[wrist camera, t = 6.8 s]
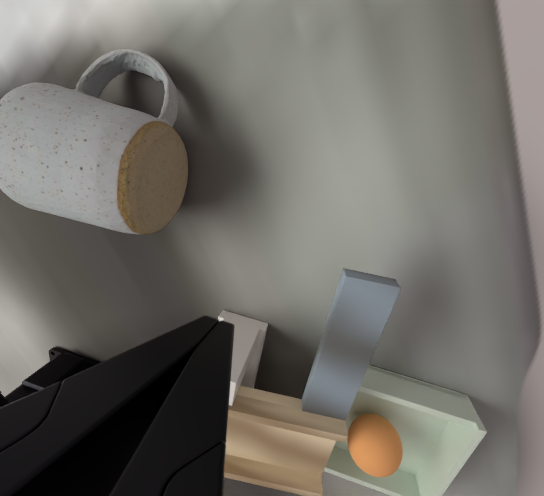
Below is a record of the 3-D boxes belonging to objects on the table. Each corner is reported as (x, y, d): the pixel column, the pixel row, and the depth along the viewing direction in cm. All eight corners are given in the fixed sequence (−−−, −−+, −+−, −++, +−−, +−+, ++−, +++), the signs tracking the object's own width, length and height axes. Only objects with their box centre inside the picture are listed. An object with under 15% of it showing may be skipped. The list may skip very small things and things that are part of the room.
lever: (316, 432, 25) (320, 499, 20) (156, 396, 25) (123, 453, 20) (381, 259, 18) (408, 298, 14) (164, 213, 19) (118, 236, 14)
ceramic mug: (189, 226, 21) (117, 260, 14) (97, 199, 22) (-13, 219, 15) (208, 70, 18) (122, 12, 10) (96, 47, 19) (-52, -21, 11)
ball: (361, 426, 24) (401, 471, 22) (331, 449, 22) (371, 502, 19) (376, 394, 23) (421, 437, 20) (345, 415, 21) (391, 467, 18)
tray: (417, 474, 24) (427, 515, 22) (318, 439, 26) (316, 474, 23) (467, 394, 21) (487, 432, 18) (349, 358, 22) (351, 388, 19)
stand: (246, 422, 27) (220, 498, 21) (208, 408, 28) (173, 479, 22) (268, 323, 23) (243, 385, 17) (223, 309, 23) (183, 365, 17)
